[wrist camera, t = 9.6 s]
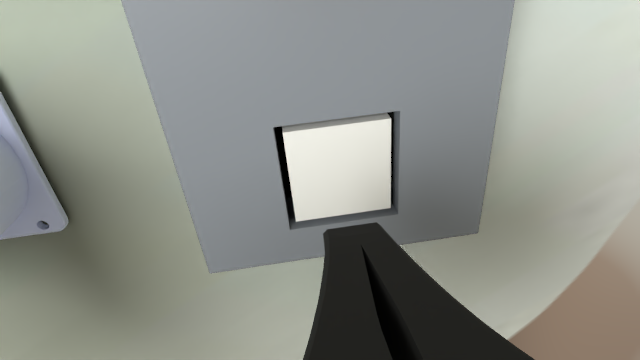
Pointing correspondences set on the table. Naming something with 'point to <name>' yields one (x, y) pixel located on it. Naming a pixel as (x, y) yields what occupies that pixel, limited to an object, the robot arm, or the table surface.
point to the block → (339, 165)
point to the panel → (322, 109)
